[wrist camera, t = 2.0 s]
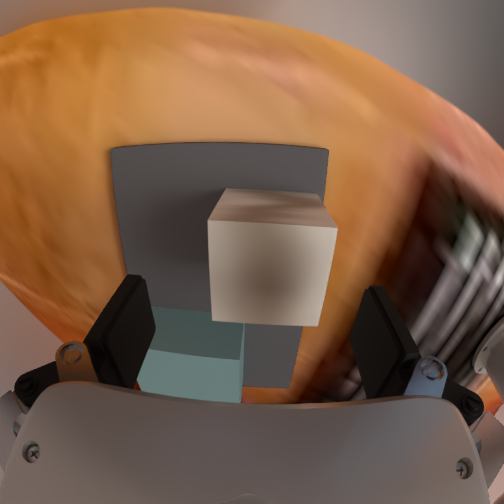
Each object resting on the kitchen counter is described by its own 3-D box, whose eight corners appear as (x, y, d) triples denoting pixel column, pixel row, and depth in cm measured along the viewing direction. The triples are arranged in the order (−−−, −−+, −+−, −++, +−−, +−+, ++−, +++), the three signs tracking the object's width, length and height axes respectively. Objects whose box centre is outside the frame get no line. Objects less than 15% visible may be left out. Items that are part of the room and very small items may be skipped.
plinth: (244, 314, 23) (239, 360, 18) (243, 378, 27) (239, 418, 22) (144, 305, 23) (122, 344, 18) (161, 368, 27) (148, 404, 23)
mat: (325, 148, 17) (328, 150, 16) (288, 381, 28) (288, 388, 27) (117, 147, 18) (110, 148, 17) (157, 368, 29) (155, 374, 28)
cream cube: (317, 193, 18) (337, 228, 12) (306, 271, 20) (317, 326, 15) (226, 188, 18) (207, 220, 13) (226, 267, 21) (212, 320, 15)
